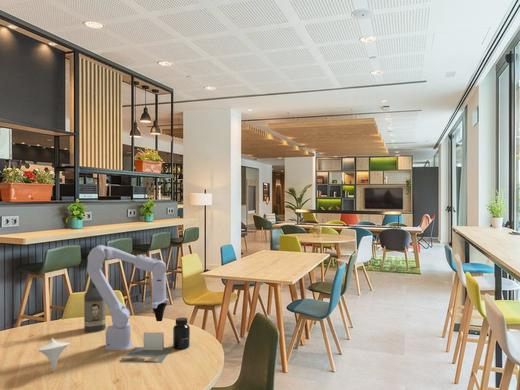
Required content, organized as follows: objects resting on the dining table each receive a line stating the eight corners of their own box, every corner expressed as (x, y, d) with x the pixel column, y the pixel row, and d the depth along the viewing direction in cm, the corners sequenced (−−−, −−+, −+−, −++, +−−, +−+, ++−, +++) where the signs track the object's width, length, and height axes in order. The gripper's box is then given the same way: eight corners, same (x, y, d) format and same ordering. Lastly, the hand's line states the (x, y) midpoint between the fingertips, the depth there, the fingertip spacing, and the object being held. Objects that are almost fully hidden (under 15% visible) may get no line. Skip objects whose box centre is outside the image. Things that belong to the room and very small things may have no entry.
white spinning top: (33, 372, 147) (33, 338, 147) (64, 363, 155) (64, 331, 155) (42, 381, 140) (42, 346, 140) (74, 371, 147) (74, 338, 147)
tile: (143, 350, 166) (143, 333, 166) (144, 349, 168) (144, 332, 168) (162, 350, 166) (162, 333, 166) (163, 349, 167) (163, 332, 167)
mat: (119, 363, 154) (119, 362, 154) (134, 348, 170) (134, 347, 170) (161, 363, 153) (161, 362, 153) (172, 348, 169) (172, 347, 169)
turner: (120, 361, 155) (120, 359, 155) (124, 358, 158) (124, 355, 158) (156, 362, 154) (156, 359, 154) (159, 358, 158) (159, 355, 158)
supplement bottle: (186, 351, 166) (185, 321, 166) (170, 350, 168) (170, 320, 168) (192, 345, 173) (192, 316, 173) (177, 344, 174) (176, 316, 174)
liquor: (84, 327, 198) (84, 266, 198) (104, 325, 201) (104, 264, 202) (84, 333, 189) (84, 268, 190) (105, 330, 193) (105, 267, 193)
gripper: (163, 293, 167) (163, 326, 167) (172, 285, 182) (172, 316, 182) (146, 293, 168) (146, 326, 168) (157, 285, 182) (157, 315, 182)
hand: (159, 320), depth 175 cm, fingers closed
